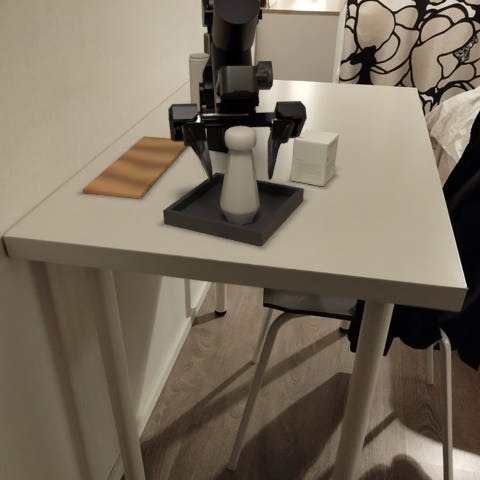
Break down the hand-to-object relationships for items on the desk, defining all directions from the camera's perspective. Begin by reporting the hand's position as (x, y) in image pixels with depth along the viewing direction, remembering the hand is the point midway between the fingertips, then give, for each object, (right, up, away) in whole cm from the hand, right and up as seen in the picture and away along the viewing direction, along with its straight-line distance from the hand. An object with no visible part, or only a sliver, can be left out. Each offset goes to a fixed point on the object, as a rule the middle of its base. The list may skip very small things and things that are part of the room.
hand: (241, 179), depth 71 cm
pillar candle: (-5, +41, +66) cm, 77 cm away
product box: (+12, +5, +19) cm, 24 cm away
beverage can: (-9, +30, +51) cm, 61 cm away
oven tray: (-1, -3, +8) cm, 9 cm away
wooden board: (-18, +9, +24) cm, 31 cm away
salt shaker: (0, -5, +5) cm, 7 cm away
